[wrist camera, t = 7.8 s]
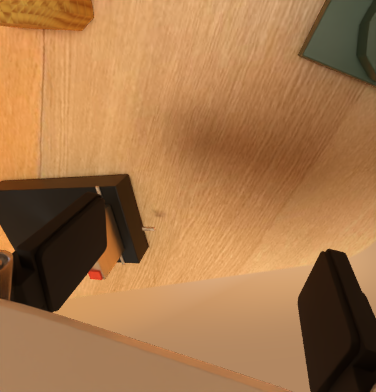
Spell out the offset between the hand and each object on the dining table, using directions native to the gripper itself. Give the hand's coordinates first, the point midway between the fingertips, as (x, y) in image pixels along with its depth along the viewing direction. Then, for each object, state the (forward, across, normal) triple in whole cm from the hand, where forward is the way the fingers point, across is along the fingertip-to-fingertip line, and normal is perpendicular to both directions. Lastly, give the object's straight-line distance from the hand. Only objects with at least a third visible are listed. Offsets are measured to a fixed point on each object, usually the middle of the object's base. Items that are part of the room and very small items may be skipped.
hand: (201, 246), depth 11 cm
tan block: (+12, +11, +11) cm, 19 cm away
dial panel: (+15, +16, +12) cm, 25 cm away
